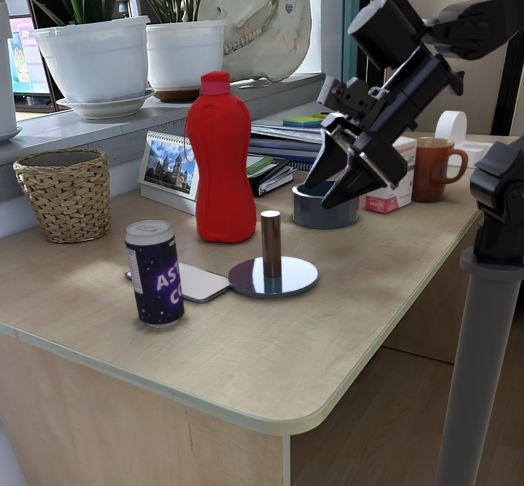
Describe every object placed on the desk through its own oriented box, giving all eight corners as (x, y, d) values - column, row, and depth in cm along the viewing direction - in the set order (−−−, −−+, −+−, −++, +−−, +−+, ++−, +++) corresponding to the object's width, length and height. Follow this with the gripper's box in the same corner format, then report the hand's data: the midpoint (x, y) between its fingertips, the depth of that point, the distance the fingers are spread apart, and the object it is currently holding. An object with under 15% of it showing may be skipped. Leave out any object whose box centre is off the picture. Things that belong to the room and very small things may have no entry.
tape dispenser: (421, 151, 139) (426, 106, 133) (492, 159, 129) (500, 110, 123) (403, 159, 133) (408, 111, 127) (476, 168, 123) (485, 117, 117)
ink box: (385, 214, 98) (390, 146, 92) (363, 209, 101) (367, 143, 95) (411, 203, 103) (418, 137, 97) (389, 198, 106) (394, 134, 100)
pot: (362, 210, 101) (364, 180, 98) (350, 231, 92) (352, 199, 89) (302, 206, 104) (302, 178, 102) (285, 226, 95) (284, 195, 92)
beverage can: (165, 335, 64) (149, 238, 58) (130, 324, 67) (111, 231, 61) (194, 315, 69) (183, 222, 62) (160, 305, 71) (146, 216, 65)
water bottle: (204, 224, 98) (188, 69, 85) (262, 228, 95) (254, 67, 82) (182, 242, 91) (161, 75, 78) (244, 247, 88) (233, 74, 74)
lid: (327, 267, 79) (328, 201, 74) (304, 306, 69) (304, 233, 64) (246, 260, 83) (242, 197, 78) (214, 296, 73) (207, 226, 68)
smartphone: (240, 284, 76) (161, 259, 84) (240, 280, 76) (160, 256, 84) (202, 305, 71) (121, 277, 79) (201, 302, 70) (120, 273, 79)
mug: (392, 199, 106) (396, 144, 100) (415, 188, 111) (420, 135, 106) (449, 210, 99) (457, 151, 93) (471, 198, 104) (480, 142, 99)
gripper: (338, 44, 70) (257, 140, 75) (390, 52, 55) (284, 173, 59) (390, 106, 76) (312, 192, 80) (452, 130, 60) (350, 235, 64)
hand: (314, 196), depth 71 cm, fingers open, 9 cm apart
